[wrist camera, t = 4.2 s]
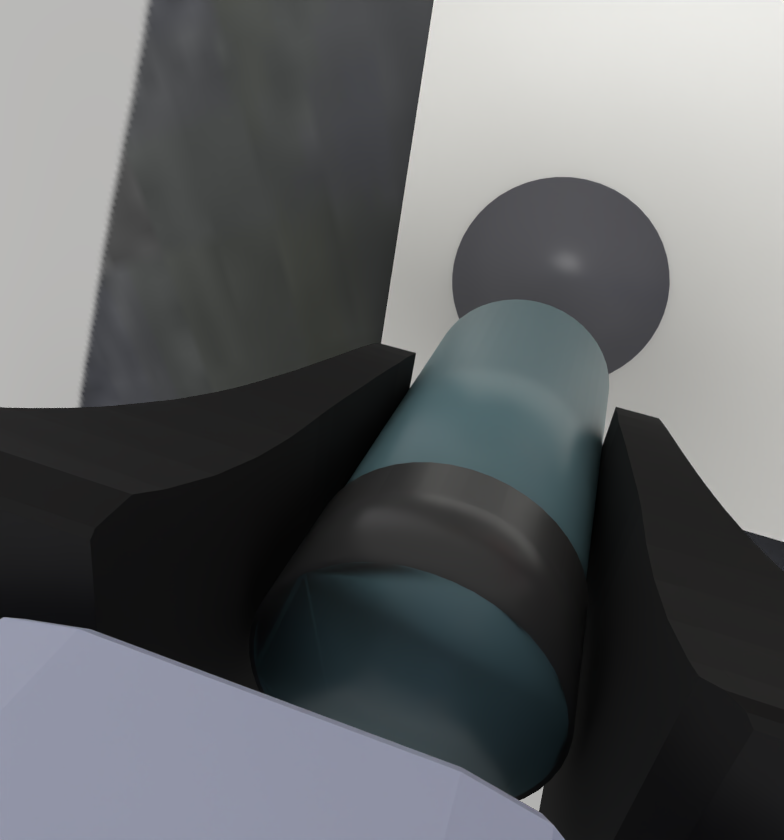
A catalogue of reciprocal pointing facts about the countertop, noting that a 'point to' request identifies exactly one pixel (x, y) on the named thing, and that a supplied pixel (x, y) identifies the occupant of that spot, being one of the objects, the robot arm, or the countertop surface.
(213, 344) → the countertop surface
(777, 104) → the paper
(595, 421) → the teal cylinder
